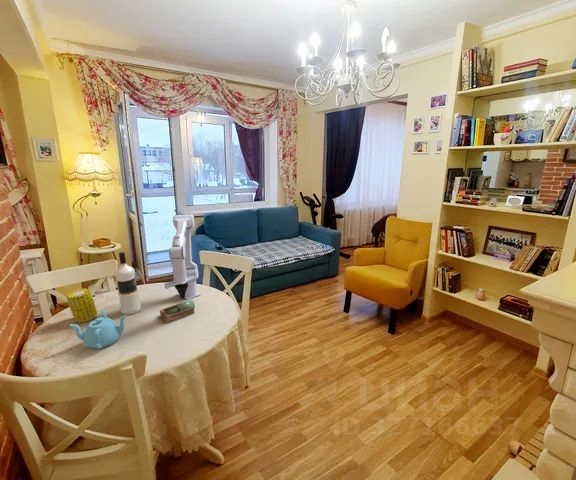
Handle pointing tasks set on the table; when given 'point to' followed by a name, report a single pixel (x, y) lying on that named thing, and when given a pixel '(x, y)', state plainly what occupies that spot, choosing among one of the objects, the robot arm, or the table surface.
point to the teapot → (100, 332)
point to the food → (82, 305)
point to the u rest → (177, 315)
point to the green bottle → (183, 306)
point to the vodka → (127, 287)
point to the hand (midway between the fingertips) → (182, 298)
